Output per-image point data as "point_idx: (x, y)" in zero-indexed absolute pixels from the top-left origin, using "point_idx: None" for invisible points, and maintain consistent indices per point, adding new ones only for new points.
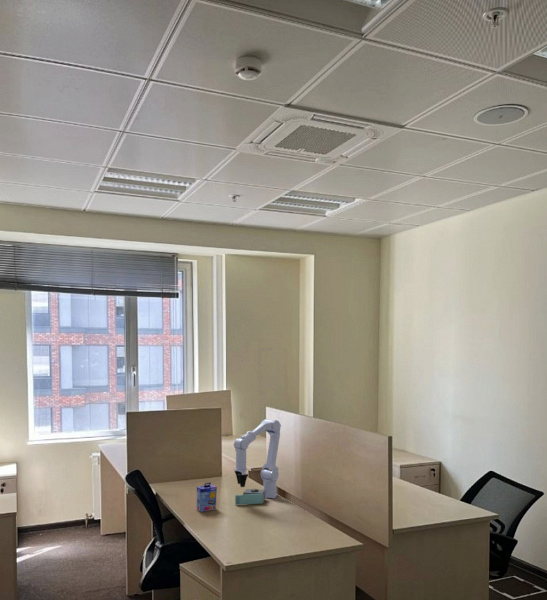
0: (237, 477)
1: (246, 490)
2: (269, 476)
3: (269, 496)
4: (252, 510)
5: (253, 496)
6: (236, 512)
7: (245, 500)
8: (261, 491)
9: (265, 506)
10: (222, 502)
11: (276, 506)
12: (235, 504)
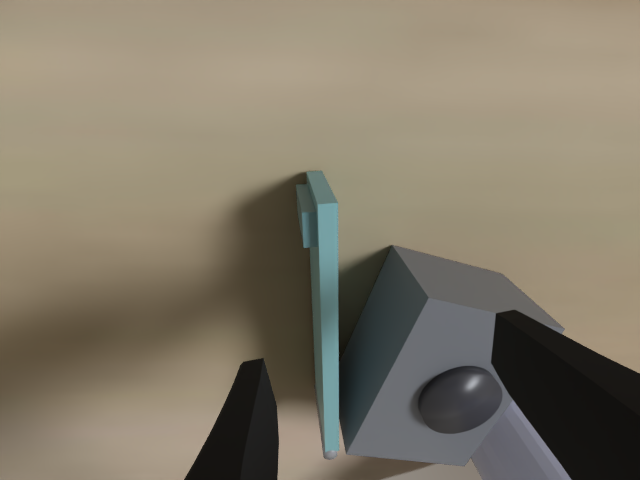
0: (605, 403)
1: None
2: None
3: None
4: (119, 316)
5: (320, 375)
6: (22, 173)
7: (313, 284)
8: (417, 445)
9: None
10: (455, 18)
11: None
12: (306, 172)
